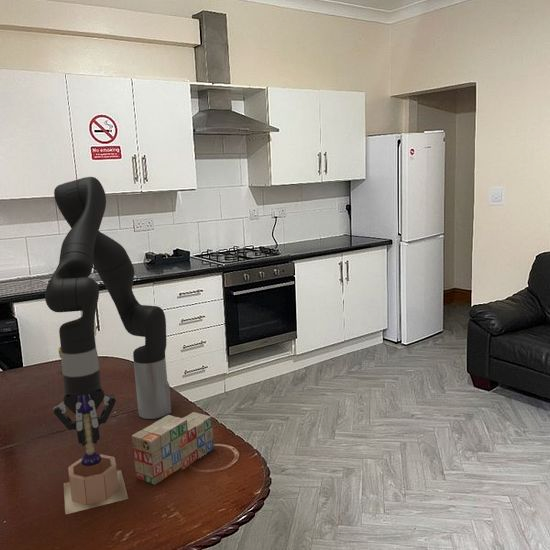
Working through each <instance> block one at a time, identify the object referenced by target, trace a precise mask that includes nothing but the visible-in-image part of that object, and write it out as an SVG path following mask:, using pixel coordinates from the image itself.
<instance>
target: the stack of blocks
mask: <svg viewBox="0 0 550 550" xmlns="http://www.w3.org/2000/svg"><path fill="white" fill-rule="evenodd" d="M212 424H213V423H212V416H210V415H207V414H201V413H199V412H195V411H193V412H191V413H189V414H188V415H186V416H184V417H182V418H181V417H178V416H174V415H170V414H167V415H165V416H163V417H161V418H160V419H158V420H157V421H155V422H154V423H152V424H150V425H148V426H146V427H144V428H143V429H142V430H139V431H137V432H135V433H134V434H132V435H131V441H132V456H133V461H134V462H133V464H134V471H135V478H136V479H138V480H141V481H144V482H147V483H149V484H151V485H153V486H155V485H157V484H158V483H160V482H161V481H163V480H164V479H166V478H167V477H169V476H170V475H172V474H173V473H175V472H176V471H178V470H179V469H181V470H182V471H184V470H185V469H184V468H185V467H187V466H188V465H190V464H191V463H192V462H194V461H196V460H197V459H199V458H200V459H201V457H202V456H203V457H205V456H206V455H208V454H209V453H211V452H212V451H213V450H214V449H215V448H214V430H213V425H212ZM211 450H212V451H211ZM208 452H209V453H208ZM207 453H208V454H207ZM204 455H205V456H204ZM203 457H202V458H203ZM200 459H199V460H200ZM197 461H198V460H197ZM197 461H196V462H197ZM194 463H195V462H194ZM191 465H192V464H191ZM191 465H190V466H191ZM187 468H188V467H187ZM183 469H184V470H183Z"/></svg>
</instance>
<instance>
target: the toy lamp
mask: <svg viewBox="0 0 550 550" xmlns="http://www.w3.org/2000/svg"><path fill="white" fill-rule="evenodd" d="M90 399H91V396H90V394H86V395H79V396H78V397H77V401H79V402H81V403H82V404H81V406H80V409H78V410H77V412H78V413H86V414H84V415H82V426H83V428H84V436H85V446H84V447H85V451H86V453H84V455H83V456H82V458H81V459H82V461H81V463H82V465H84V466H93V465H96V464H98V463H99V462H100V461H101V456H100V454H99V453H98V452H97V451H95V448H94V446H95V443H93V435H92V420H91V415H90V414H87V412H90V411H92V410H93V407H91V406H90V405H89V404H88V402H89V400H90ZM75 412H76V407H75Z"/></svg>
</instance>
